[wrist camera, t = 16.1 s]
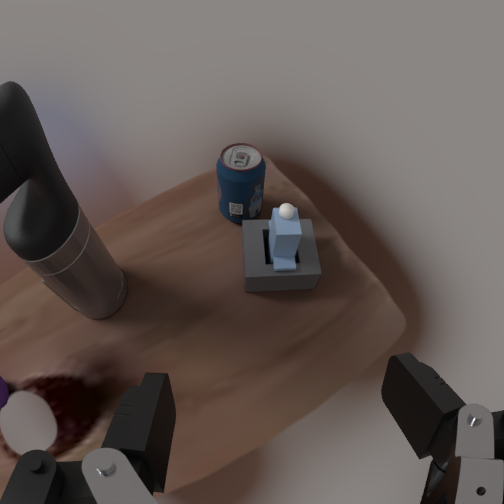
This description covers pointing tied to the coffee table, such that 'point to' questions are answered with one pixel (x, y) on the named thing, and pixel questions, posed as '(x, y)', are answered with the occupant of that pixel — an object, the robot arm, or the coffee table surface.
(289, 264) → the block
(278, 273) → the grey block with hole
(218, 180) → the soda can
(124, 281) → the robot arm
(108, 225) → the coffee table surface
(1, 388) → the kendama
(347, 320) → the coffee table surface
